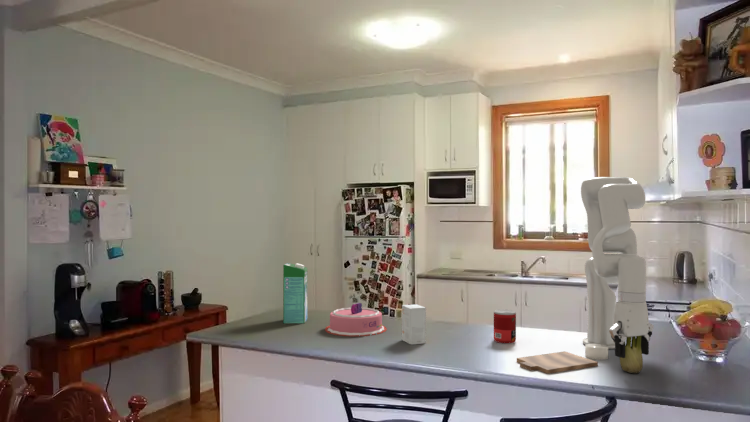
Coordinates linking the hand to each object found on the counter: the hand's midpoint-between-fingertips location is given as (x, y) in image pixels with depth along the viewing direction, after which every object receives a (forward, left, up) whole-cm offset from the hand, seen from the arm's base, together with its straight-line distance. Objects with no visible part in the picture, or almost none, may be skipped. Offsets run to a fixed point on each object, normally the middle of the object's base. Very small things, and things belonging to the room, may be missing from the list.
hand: (631, 355), depth 164 cm
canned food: (+10, -47, -5) cm, 49 cm away
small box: (+41, -60, -5) cm, 73 cm away
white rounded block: (-4, -17, -5) cm, 19 cm away
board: (+15, -16, -5) cm, 23 cm away
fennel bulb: (0, 0, -5) cm, 5 cm away
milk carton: (+70, -113, -5) cm, 133 cm away
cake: (+52, -88, -6) cm, 103 cm away
